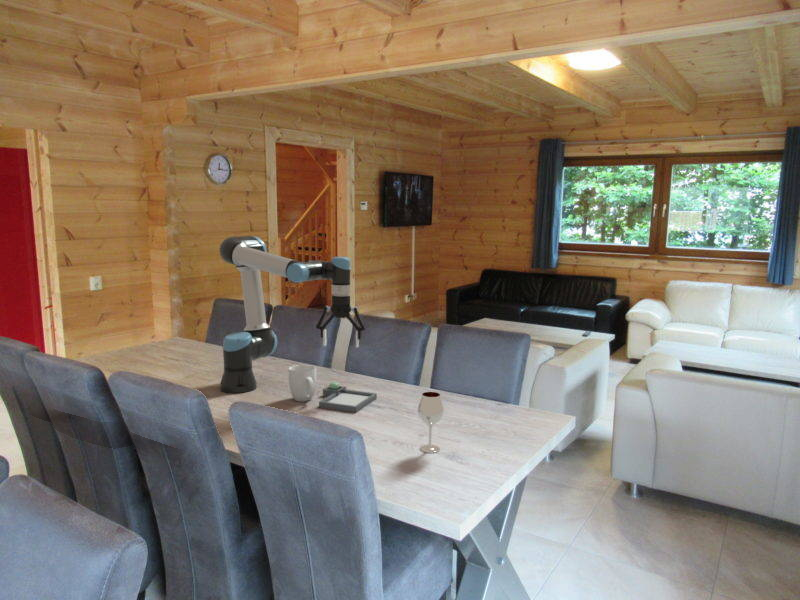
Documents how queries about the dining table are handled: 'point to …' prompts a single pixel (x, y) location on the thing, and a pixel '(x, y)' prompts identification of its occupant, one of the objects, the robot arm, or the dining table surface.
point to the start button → (334, 385)
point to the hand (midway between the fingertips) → (340, 346)
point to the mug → (302, 382)
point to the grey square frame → (333, 391)
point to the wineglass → (430, 415)
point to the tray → (348, 400)
